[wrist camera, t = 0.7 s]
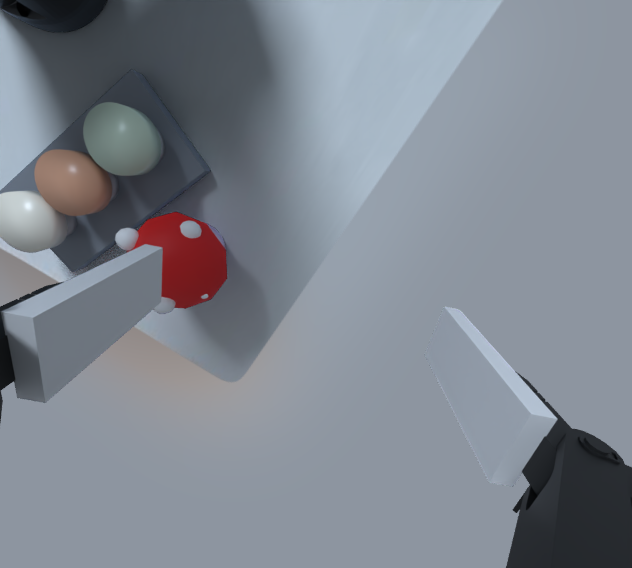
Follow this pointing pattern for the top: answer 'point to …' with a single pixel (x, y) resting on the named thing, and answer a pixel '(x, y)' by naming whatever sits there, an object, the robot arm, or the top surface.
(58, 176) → the terracotta cap
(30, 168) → the button board
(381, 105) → the top surface
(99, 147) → the sage cap
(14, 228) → the white flat dome
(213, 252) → the mushroom
